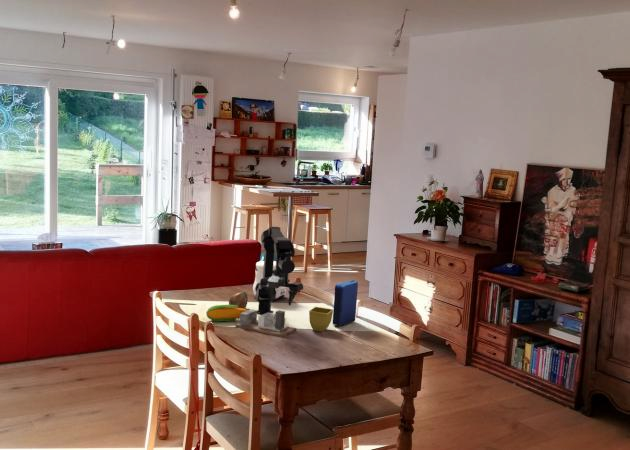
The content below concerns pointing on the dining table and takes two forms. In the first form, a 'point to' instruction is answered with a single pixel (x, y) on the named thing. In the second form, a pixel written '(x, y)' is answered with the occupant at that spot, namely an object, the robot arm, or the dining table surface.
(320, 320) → the flower pot
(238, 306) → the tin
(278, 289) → the milk container
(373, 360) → the dining table surface
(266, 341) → the dining table surface
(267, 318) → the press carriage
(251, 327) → the press base
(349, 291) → the book
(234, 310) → the corn
